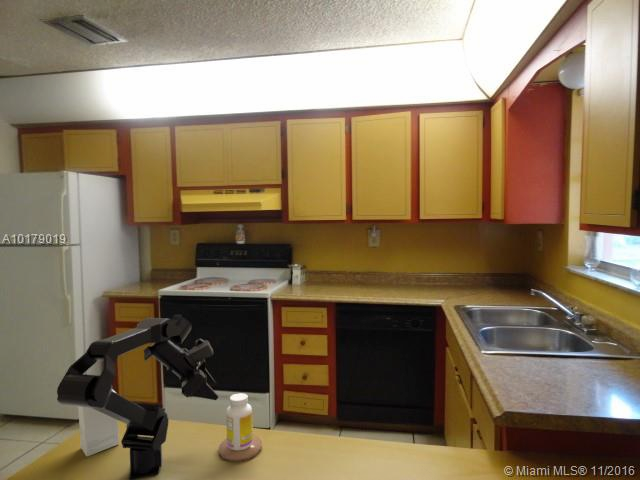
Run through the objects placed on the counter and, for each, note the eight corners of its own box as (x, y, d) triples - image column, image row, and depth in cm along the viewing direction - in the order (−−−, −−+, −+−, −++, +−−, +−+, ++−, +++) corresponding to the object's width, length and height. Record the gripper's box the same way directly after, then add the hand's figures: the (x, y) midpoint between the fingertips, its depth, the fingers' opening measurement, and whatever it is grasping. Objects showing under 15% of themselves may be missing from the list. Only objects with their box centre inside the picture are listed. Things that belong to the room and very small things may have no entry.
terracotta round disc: (220, 465, 97) (220, 460, 97) (218, 442, 108) (217, 437, 108) (264, 456, 101) (264, 451, 101) (258, 435, 111) (258, 430, 111)
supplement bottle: (255, 438, 107) (254, 391, 107) (248, 452, 100) (247, 402, 100) (231, 437, 108) (230, 391, 107) (223, 451, 101) (222, 402, 101)
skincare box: (112, 437, 111) (111, 385, 111) (119, 445, 107) (118, 391, 106) (78, 449, 105) (76, 394, 105) (84, 458, 101) (82, 401, 101)
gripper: (194, 342, 97) (240, 380, 101) (194, 325, 115) (233, 358, 119) (161, 378, 95) (209, 416, 99) (166, 354, 113) (207, 387, 117)
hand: (216, 391), depth 108 cm, fingers open, 9 cm apart
